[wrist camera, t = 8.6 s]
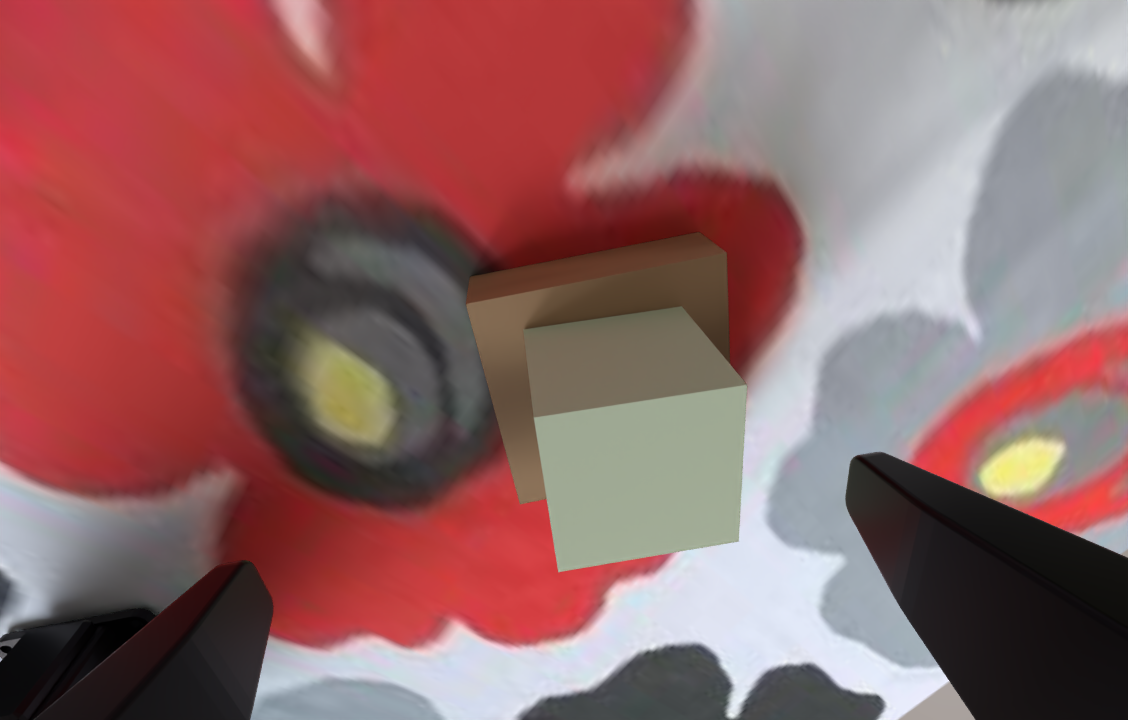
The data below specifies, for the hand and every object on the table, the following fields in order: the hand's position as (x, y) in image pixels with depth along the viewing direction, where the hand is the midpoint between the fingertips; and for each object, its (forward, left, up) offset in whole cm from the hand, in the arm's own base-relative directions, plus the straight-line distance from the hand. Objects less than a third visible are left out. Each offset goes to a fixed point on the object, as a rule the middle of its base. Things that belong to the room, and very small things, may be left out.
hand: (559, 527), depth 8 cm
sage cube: (-3, -2, -9) cm, 10 cm away
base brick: (-4, -2, -12) cm, 13 cm away
